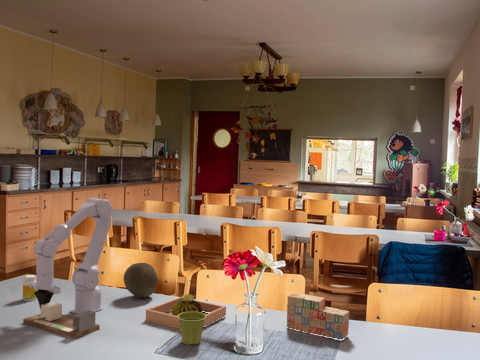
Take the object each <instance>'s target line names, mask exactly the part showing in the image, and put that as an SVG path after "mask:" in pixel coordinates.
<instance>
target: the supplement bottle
mask: <svg viewBox="0 0 480 360" xmlns="http://www.w3.org/2000/svg"><path fill="white" fill-rule="evenodd" d="M24 280H25V281H23V283H22V301H24V302H25V301H26V302H32V301H36V300H38V299H37V297H36V296H35V294H34V292H35V291H37V290H38V289H34V288H29V283H30V282H36V275H33V274H30V275H25V277H24Z"/></svg>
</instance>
